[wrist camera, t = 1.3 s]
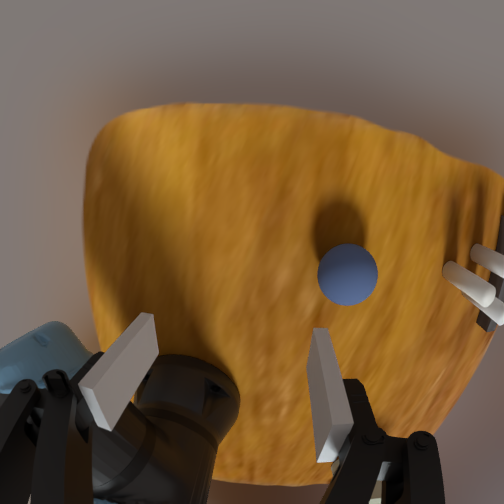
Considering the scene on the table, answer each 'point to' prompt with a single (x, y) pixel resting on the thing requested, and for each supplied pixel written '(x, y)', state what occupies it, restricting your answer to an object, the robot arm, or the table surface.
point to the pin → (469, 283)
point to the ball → (347, 274)
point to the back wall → (500, 284)
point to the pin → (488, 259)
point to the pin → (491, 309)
